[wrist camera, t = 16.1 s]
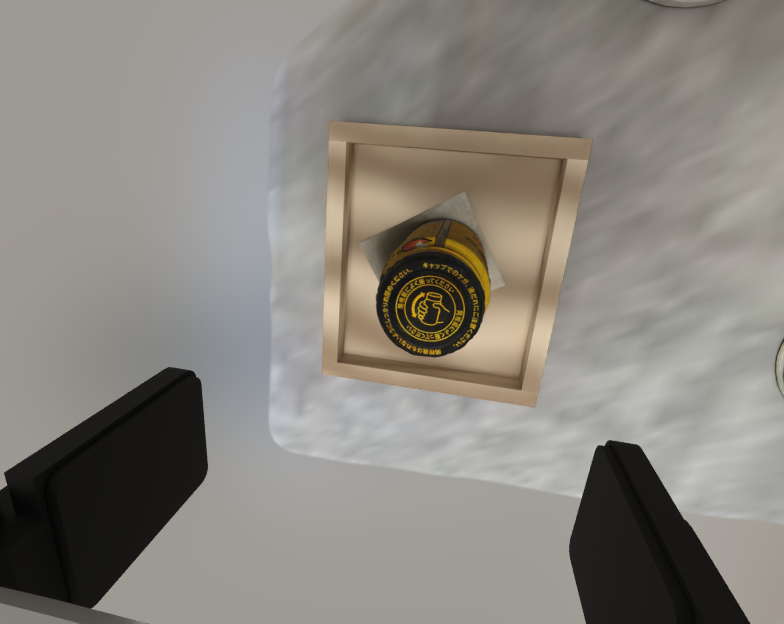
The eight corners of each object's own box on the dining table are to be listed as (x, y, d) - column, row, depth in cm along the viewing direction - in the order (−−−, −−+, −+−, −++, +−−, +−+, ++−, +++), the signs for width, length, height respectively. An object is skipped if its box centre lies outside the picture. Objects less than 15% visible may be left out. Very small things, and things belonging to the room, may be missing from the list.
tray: (340, 124, 30) (329, 120, 28) (582, 142, 28) (592, 139, 25) (331, 361, 36) (321, 374, 34) (530, 391, 34) (535, 407, 31)
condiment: (505, 284, 31) (525, 347, 20) (402, 327, 33) (367, 405, 22) (464, 190, 29) (461, 201, 18) (359, 243, 32) (299, 280, 21)
